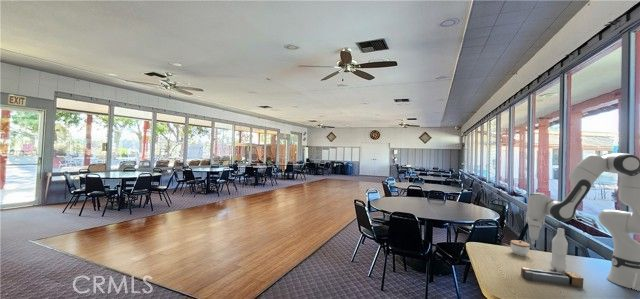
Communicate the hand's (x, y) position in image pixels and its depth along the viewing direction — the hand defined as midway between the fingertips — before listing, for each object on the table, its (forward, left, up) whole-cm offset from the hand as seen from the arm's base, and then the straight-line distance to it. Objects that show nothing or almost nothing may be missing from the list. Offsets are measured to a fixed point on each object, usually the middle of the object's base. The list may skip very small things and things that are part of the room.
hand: (533, 243), depth 168 cm
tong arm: (-1, +12, -15) cm, 19 cm away
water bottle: (-15, -3, -16) cm, 22 cm away
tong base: (-3, +14, -15) cm, 21 cm away
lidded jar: (-4, -25, -16) cm, 30 cm away
